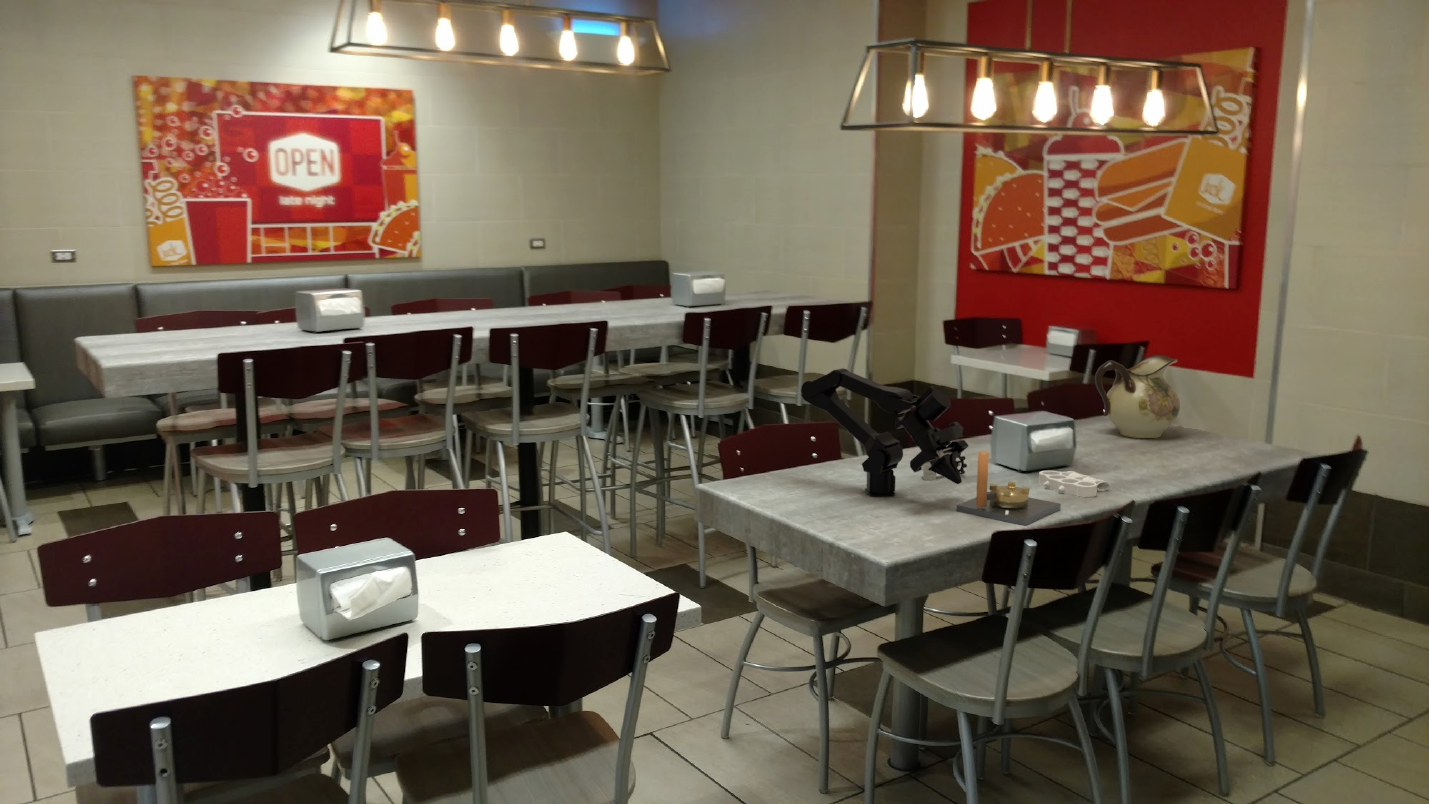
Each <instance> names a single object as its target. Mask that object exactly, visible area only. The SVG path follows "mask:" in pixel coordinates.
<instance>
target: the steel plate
mask: <svg viewBox="0 0 1429 804" xmlns="http://www.w3.org/2000/svg"><path fill="white" fill-rule="evenodd" d="M1060 510H1061V503H1060V502H1054V501H1049V500H1043V499H1039V498H1033V497H1029V496H1028V506H1026V507H1023V508H1003V507H998V506H994V505H992V504H991V503H990V500H987V504H986V507H977V506H976V497H974V498H971V499H968V500H966V501H963V502H961V503H958V504H956V512H959V513H963V514H969V515H973V516H978V517H983V518H988V519H991V520H992V519H993V520H997V521H1002V522H1007V523H1010V524H1011V523H1012V524H1016V525H1020V526H1025V527H1026V526H1027V525H1030V524H1031V523H1034V522H1036V521H1038V520H1040V519H1043V518H1045V517H1047V516H1049V515H1052V514H1054V513H1056V512H1058V511H1060ZM1055 511H1056V512H1055Z"/></svg>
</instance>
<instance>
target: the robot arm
mask: <svg viewBox="0 0 1429 804" xmlns="http://www.w3.org/2000/svg"><path fill="white" fill-rule="evenodd" d="M840 387H841V388H842V389H846V390H848V391H850V392H853V393H855V394H858V395H860V396H862V397H864V398H866V399H869V400H871V401H873V402H875V403H876V404H877V406H878V408H880V409H882V410H883V411H885V412H886V413H888V414H889V415H893V416H895V415H896V416H897V415H899V414H903V413H905V414H904V415H903V416H900V417H896V418H895V424H894V429H895V430H898V429H902V428H904V429H905V431H906V432H907V433H908V435H909V436H910V437H911V439H912V441H913V442H912V443H911V444H912V446H913V448H914V447H915V448H917V447H918V448H919V449H920V451H919V453H917V454H916V455H915V456H914V457H913V458H912V459H911V460H910V461H909V467H910V469H911V470H912V471H913V472H914V473H918V472H920V471H921V470H922V466H923V465H924V464H925V463H927V462H930V465H931V467H930V468H929V469H928V470H929V471H933V472H935V473H936V475H937V474H938V476H939V475H940V476H941V477H943V478H945V479H947V480H949V481H951V482H953V483H954V484H956V485H959V484H961V483H962V481H963V480H962V477H961V474H959V471H958V469H959V467H957V464H956V460H957V458H956V457H957V456H958V455H959V454H961V455H962V453H963V452H964V451H965V450H966V449H967V448H969V444H968V442H966V440H965V439H962V438H963V437H964V435H963V434H964V431H965V430H964V429H965V428H964V427H963V426H962V425H961V424H960V423H959V422H958V421H954V422H952V423H949V424H948V427H947V428H944V429H941V428H939V427H938V426H935V427H933V425H932V424H931V423H930V422H929V421H932V422H935V421H936V420H937V419H938V418H939V417H941V415H943V414H944V413H945V412H946V411H947V410H948V409H949V408H950V407H951V406H952V401H951V399H950V397H949V396H948V395H947V394H946V393H944V392H943V391H941V390H940V389H938V388H936V386H935V385H933V386H928V388H927V389H926V390H925V391H924V393H923V394H922V395H920V396H919V395H917V394H916V395H915V394H913V393H912V392H911V390H909V389H907V388H901V387H897V386H887V385H883V384H880V383H878V382H875V381H873V380H870V379H868V378H865V377H864V376H861V375H859V374H856V373H854V372H852V371H849V370H848V369H846V368H844V367H842V368H838V369H833V370H832V371H830V372H828V373H827V374H825V375H823V376H820V377H819V378H815V379H810V380H806V381H805V382H803V383H802V385H801V389H800V392H801V394H800V396H801V398H802V399H803V400H804V401H805V402H806V403H807V404H809V405H812V407H815V408H817V409H820V410H823V411H824V412H826V413H827V414H829V415H830V416H831V417H832V418H833V419H834V420H835V421H836V422H837V423H839V425H840V426H842V427H843V428H844V429H845V430H846V431H847V432H848V433H849V434H850V435H851V436H852V437H854V439H855V440H857V441H858V442H859V443H860V444H862V446H863V447H864V450H865V454H866V456H867V457H868V458H866V460H864V461H863V462H861V467H862V469H863V472H865V473H866V487H865V488H864V491H865V492H866V493H867V495H868V496H870V497H889V496H890V497H891V496H892V497H893V496H896V493H895V491H896V475H894V472H895V471H894V469H897V467H898V465H899V463H900V462H901V461H902V459H903V457H904V452H903V451H904V448H903V446H902V445H901V443H900V440H898V439H897V438H895V437H894V436H893V435H892V434H891V433H890V432H889V431H886V432H883V433H878V432H877V431H876V430H875V429H874V428H872V427H871V426H870V425H869V424H868V423H867V422H866V421H865V420H864V419H863V418H862V417H860V416H859V415H858V414H857V413H856V412H855V411H854V410H852V408H850V407H849V405H847V404H846V403H844V401H843V400H841V399H840V397H839V394H838V392H837V389H840ZM914 408H915V409H914ZM912 409H913V410H912ZM911 410H912V411H911ZM922 471H923V470H922Z"/></svg>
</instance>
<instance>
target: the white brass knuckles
mask: <svg viewBox="0 0 1429 804" xmlns="http://www.w3.org/2000/svg"><path fill="white" fill-rule="evenodd" d="M1038 484H1039V486H1044V487H1045V486H1046V487H1045V488H1046V489H1047V490H1049V489H1051V490H1050V491H1054V490H1055V491H1054V492H1057V491H1058V492H1060V493H1059V494H1062V493H1064V494H1063V495H1069V494H1074V495H1077V496H1082V497H1086V496H1087V497H1090V496H1096V497H1097V495H1098V494H1097V493H1098V492H1097V491H1098V489H1097V488H1099V489H1104V491H1103V492H1106V491H1107V490H1108V489H1109V488H1110V483H1109V482H1108V481H1106V480H1105V479H1104V480H1103V479H1098V478H1095V477H1092V476H1091V475H1087V474H1086V475H1085V474H1082V473H1078V472H1077V471H1073V470H1070V471H1069V470H1068V471H1059V470H1042V471H1039V473H1038ZM1058 492H1057V493H1058ZM1074 495H1073V496H1074ZM1077 496H1076V497H1077ZM1082 497H1081V498H1082Z"/></svg>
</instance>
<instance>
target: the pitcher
mask: <svg viewBox="0 0 1429 804" xmlns="http://www.w3.org/2000/svg"><path fill="white" fill-rule="evenodd" d="M1177 362H1178V358H1174V359H1173V358H1171V357H1169V356H1167V355H1162V354H1160V355H1159V354H1154V355H1152V356H1148V357H1146V358H1144V359H1143V360H1142V361H1141V360H1140V361H1139V362H1138V363H1136V364H1135V365H1133V366H1132V367H1129V368H1126V367H1125V366H1124V365H1123V364H1121V363H1119V362H1117V361H1115V360H1108V361H1106V362H1104V363H1103V364H1101V365H1100V366H1099V367H1098V369H1096V372H1095V376H1094V383H1095V387H1096V389H1097V391H1098V393H1099V395H1100V396H1101V398H1102V402H1103V404H1104V405H1103V406H1104V411H1103V416H1104V417H1107V418H1108V420H1109V421H1110V422H1111V423H1112V425H1114V427H1116V428H1117V429H1118V431H1119V434H1120V435H1121V436H1125V437H1128V438H1132V439H1140V438H1154V439H1158V438H1160V437H1162V434H1163V433H1164V432H1165V431H1166V430H1167V429H1168V428H1170V426H1172V425H1173V423H1174V422H1175V421H1176V419H1177V418H1178V416H1179V413H1180V409H1181V402H1180V398H1179V395H1178V394H1177V392H1176V391H1175V389H1174V388H1173V387H1172V386H1171V385H1170V384H1169V383H1168V382H1167V381H1166V379H1165V377H1164V373H1165V371H1166V369H1167V368H1168V367H1169V366H1170V365H1173V364H1176V363H1177ZM1113 370H1114V371H1115V379H1114V381H1113V382H1112V387H1111V388H1110V389H1109V390H1108V391H1107V393H1106V391H1105V389H1104V386H1103V376H1104V374H1106V373H1107V371H1113Z"/></svg>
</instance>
